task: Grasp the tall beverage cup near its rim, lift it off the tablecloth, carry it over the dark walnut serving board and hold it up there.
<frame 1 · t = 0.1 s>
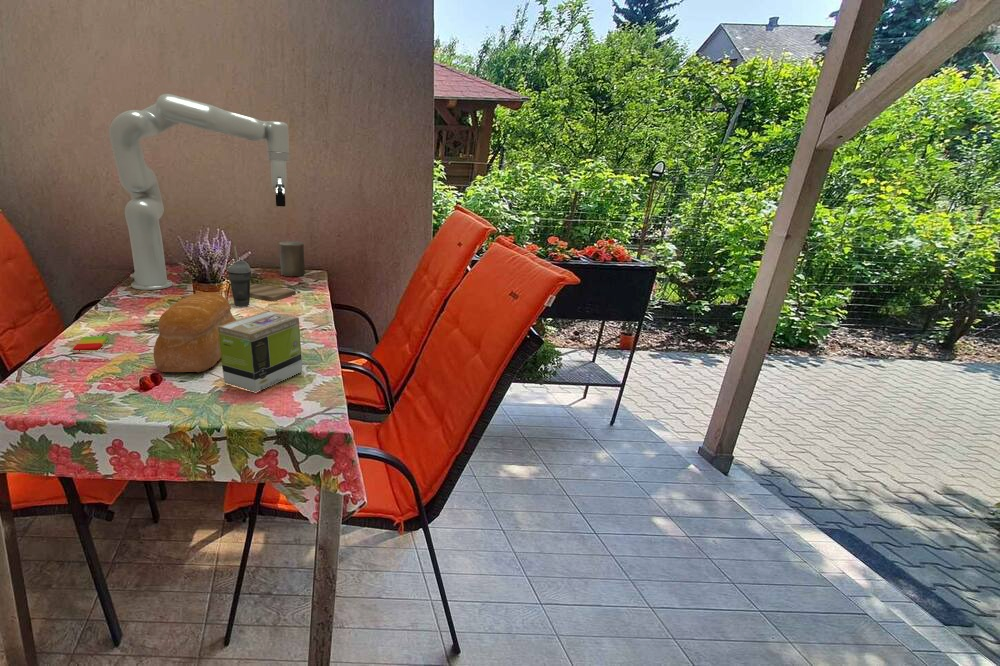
hand: (280, 204, 200), 31 cm above the table, tool pointing down, fingers open, 9 cm apart
bread: (200, 356, 137), on the table
walnut board: (264, 294, 195), on the table
beverage cup: (242, 305, 181), on the table
tea box: (264, 379, 127), on the table
pillar candle: (292, 275, 227), on the table
popsicle: (94, 345, 139), on the table
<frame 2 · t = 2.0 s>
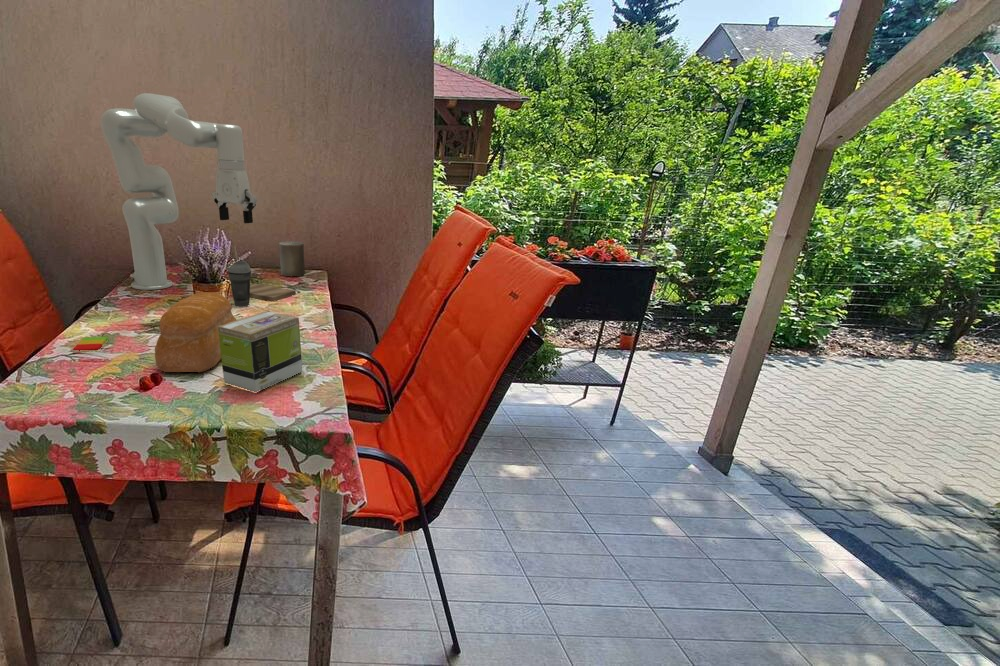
hand: (236, 221, 172), 28 cm above the table, tool pointing down, fingers open, 9 cm apart
nothing on the table moved.
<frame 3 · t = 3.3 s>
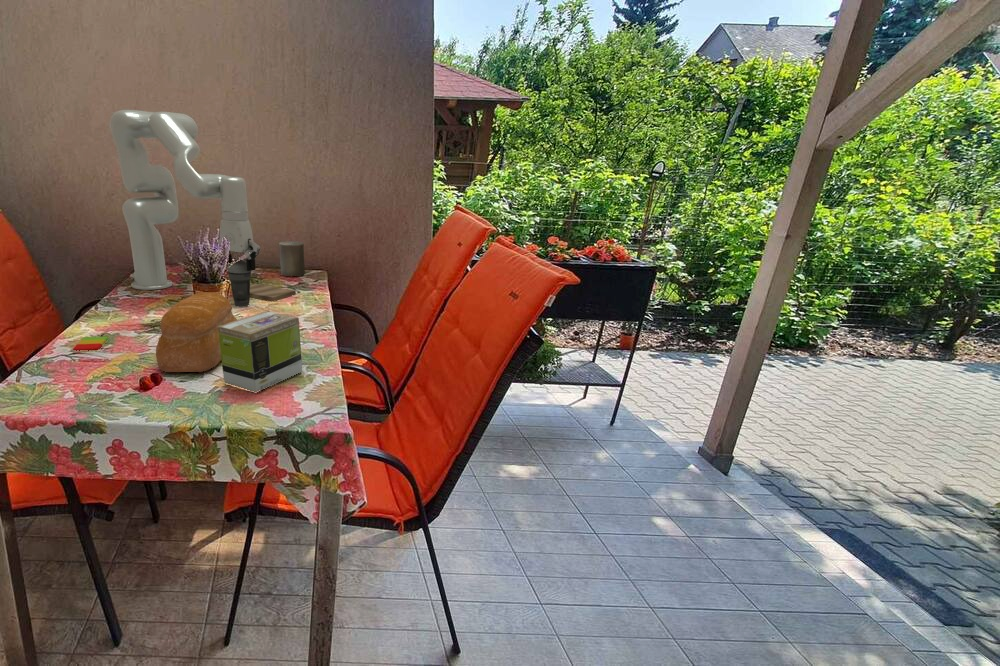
hand: (239, 268, 177), 13 cm above the table, tool pointing down, fingers open, 9 cm apart
nothing on the table moved.
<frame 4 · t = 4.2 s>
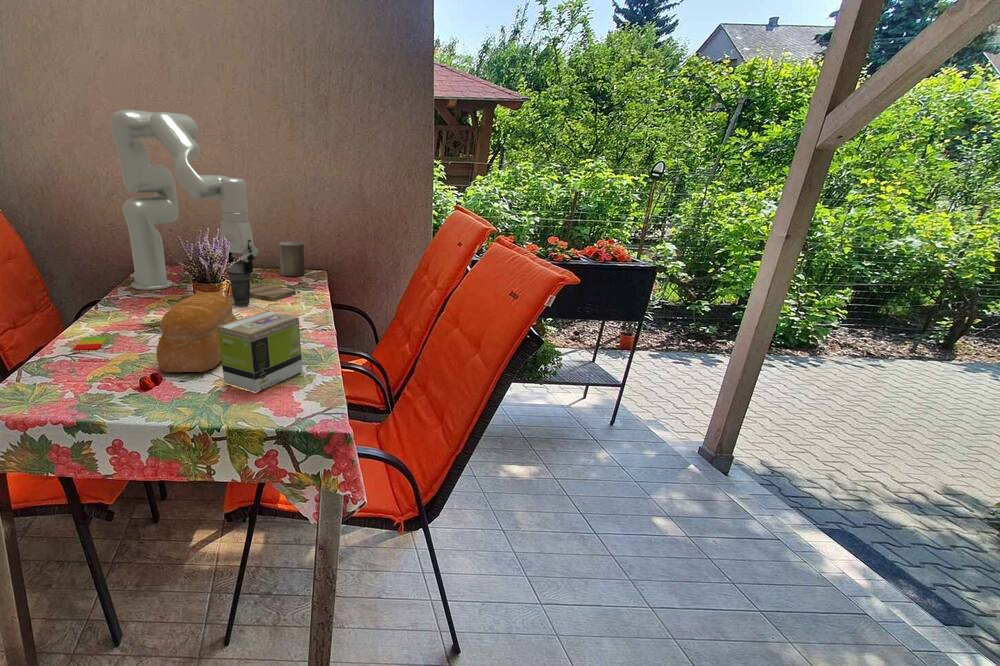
hand: (239, 271, 177), 12 cm above the table, tool pointing down, fingers closed on beverage cup, 7 cm apart
beverage cup: (242, 305, 181), on the table, touching gripper
everything else where it was.
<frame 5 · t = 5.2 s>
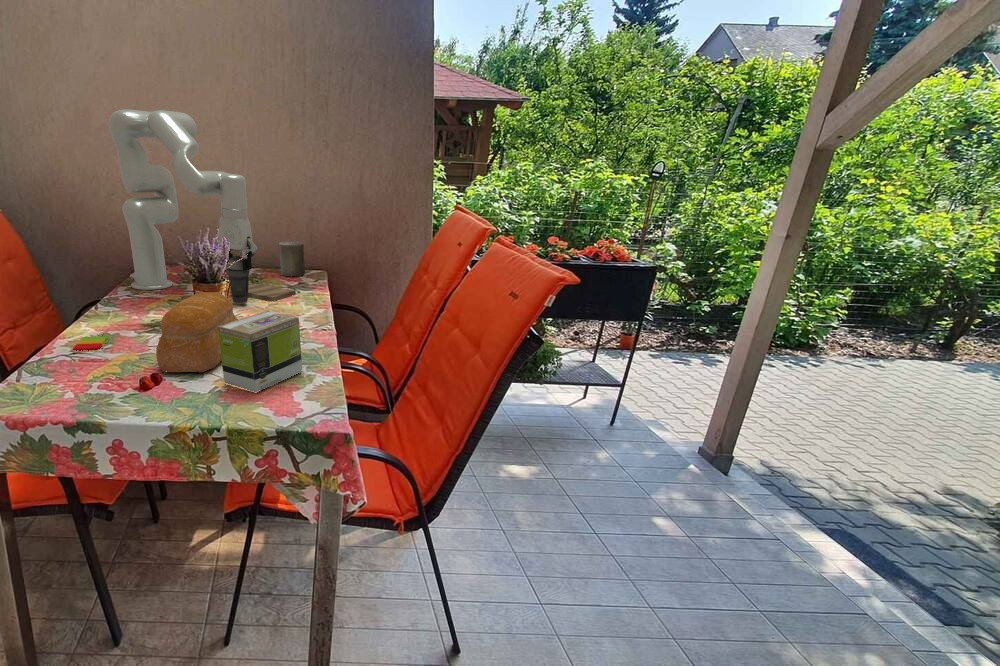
hand: (238, 267, 177), 13 cm above the table, tool pointing down, fingers closed on beverage cup, 7 cm apart
beverage cup: (240, 302, 181), point 1 cm above the table, touching gripper
everything else where it was.
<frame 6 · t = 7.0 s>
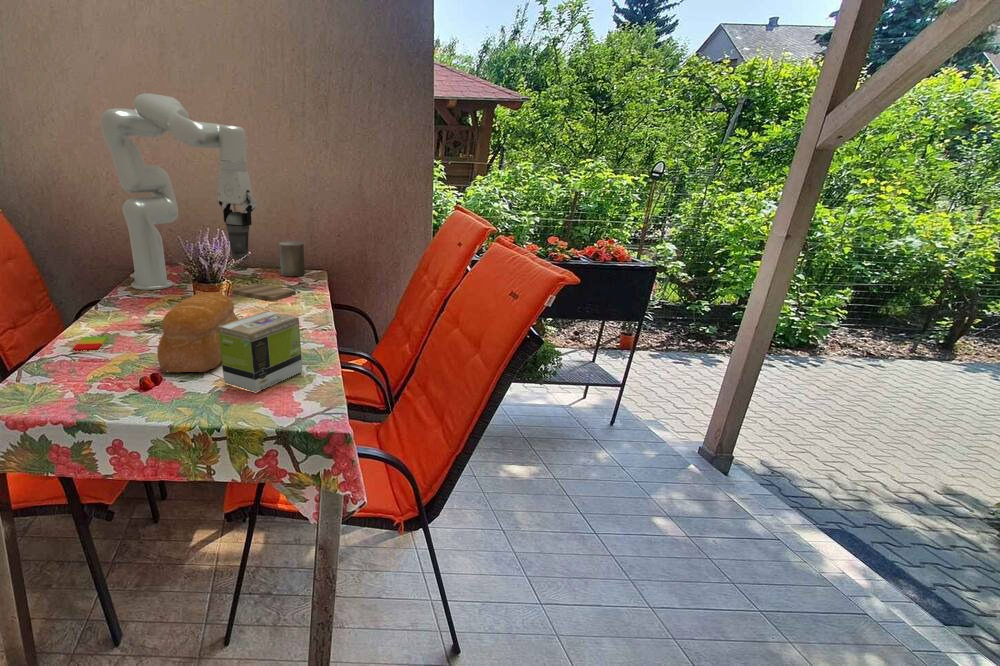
hand: (237, 223, 173), 27 cm above the table, tool pointing down, fingers closed on beverage cup, 7 cm apart
beverage cup: (240, 259, 177), point 15 cm above the table, touching gripper
everything else where it was.
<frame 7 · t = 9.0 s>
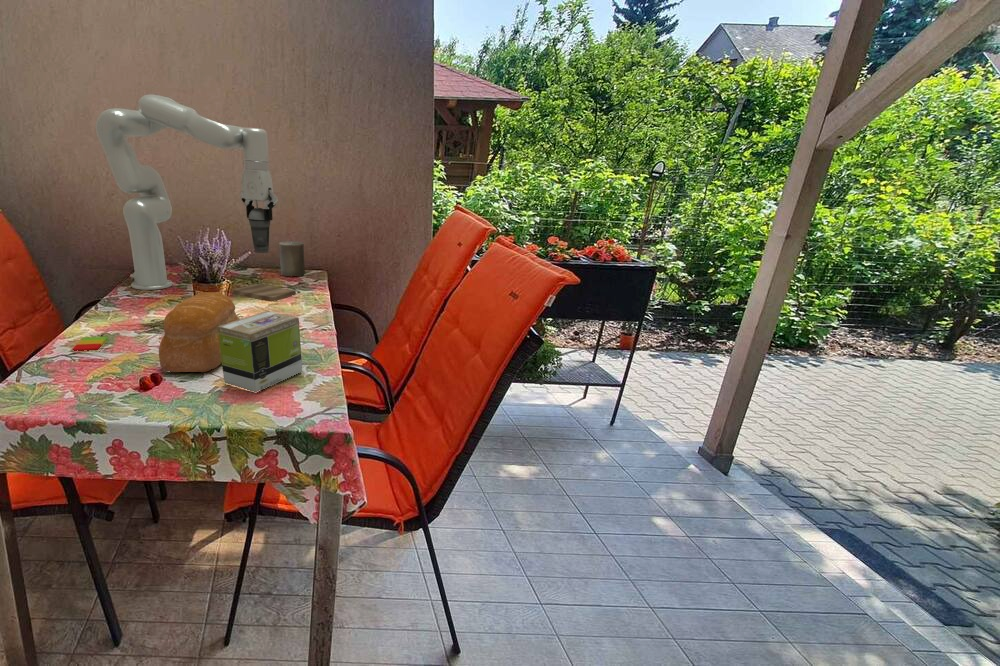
hand: (259, 218, 187), 28 cm above the table, tool pointing down, fingers closed on beverage cup, 7 cm apart
beverage cup: (261, 252, 190), point 16 cm above the table, touching gripper
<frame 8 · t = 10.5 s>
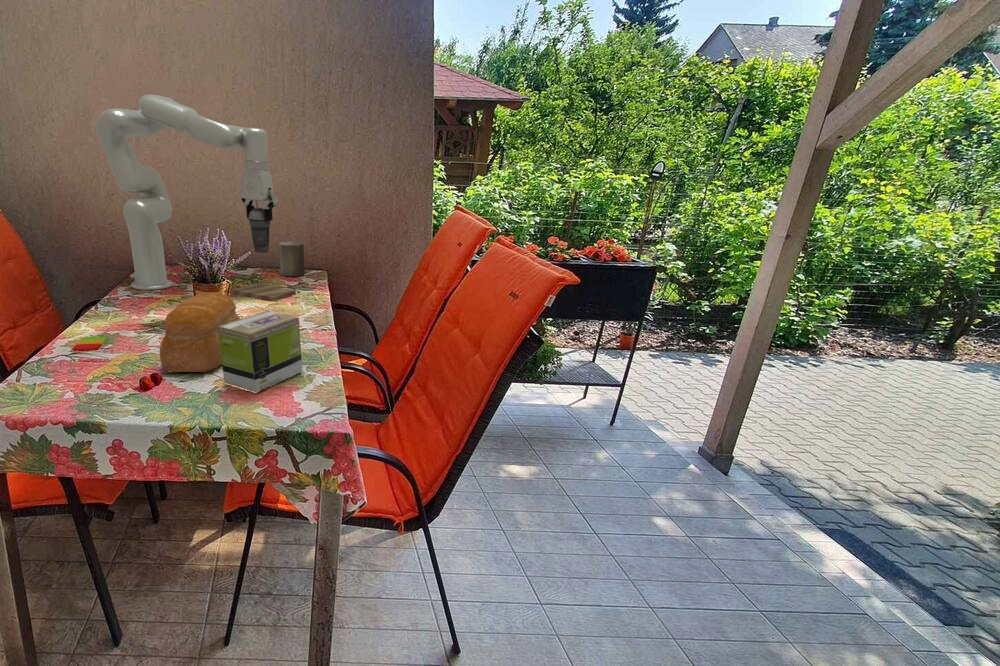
hand: (259, 218, 187), 28 cm above the table, tool pointing down, fingers closed on beverage cup, 7 cm apart
beverage cup: (261, 252, 190), point 16 cm above the table, touching gripper
at the end: the gripper is holding beverage cup; beverage cup point 15.5 cm above the table; beverage cup 0.2 cm from the walnut board (horizontally) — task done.
